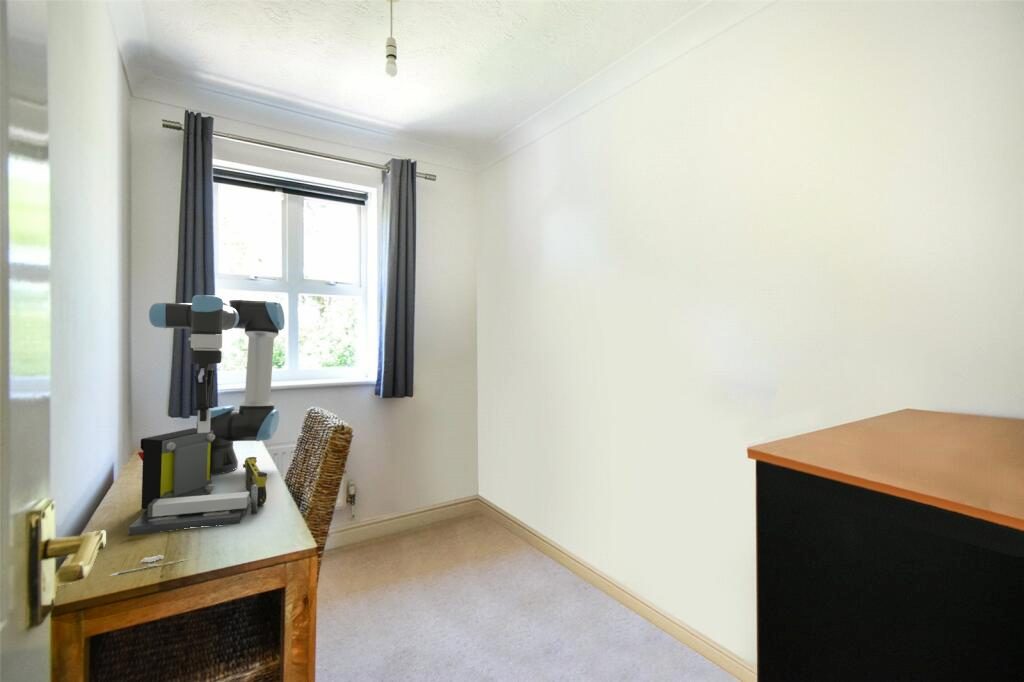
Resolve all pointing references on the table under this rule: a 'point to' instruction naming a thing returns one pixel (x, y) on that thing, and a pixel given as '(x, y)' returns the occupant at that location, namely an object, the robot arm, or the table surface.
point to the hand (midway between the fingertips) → (203, 432)
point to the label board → (192, 518)
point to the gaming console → (255, 479)
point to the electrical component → (176, 465)
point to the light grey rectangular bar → (198, 504)
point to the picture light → (145, 567)
